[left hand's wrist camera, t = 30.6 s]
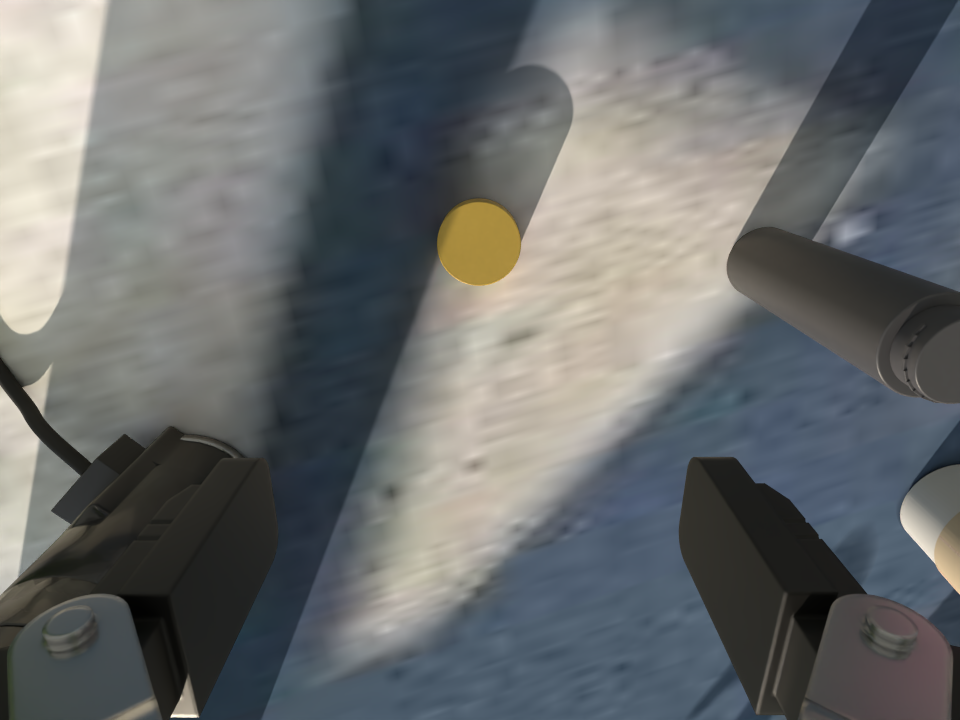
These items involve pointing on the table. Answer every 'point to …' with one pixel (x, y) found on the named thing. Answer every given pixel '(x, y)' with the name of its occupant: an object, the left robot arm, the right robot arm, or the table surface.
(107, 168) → the table surface
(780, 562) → the left robot arm
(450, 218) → the lid
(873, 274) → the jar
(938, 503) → the coffee cup
